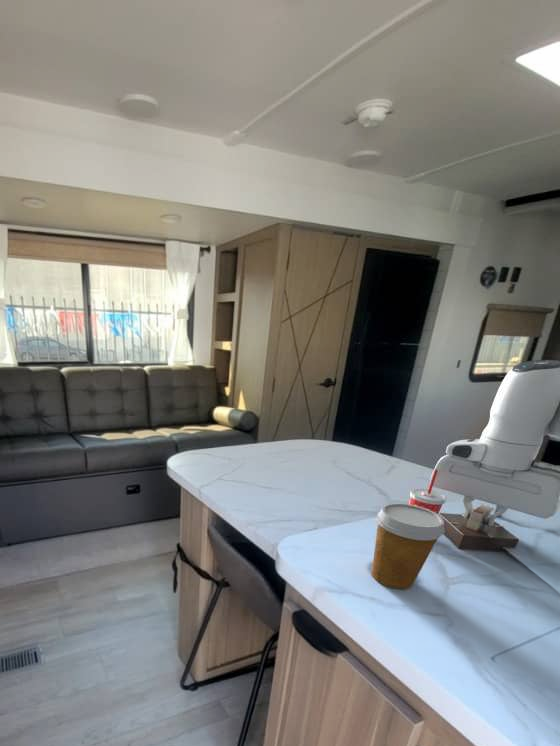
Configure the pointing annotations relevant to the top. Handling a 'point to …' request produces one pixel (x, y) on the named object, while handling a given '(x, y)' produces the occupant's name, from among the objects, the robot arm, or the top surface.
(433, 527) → the disposable coffee cup
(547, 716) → the top surface
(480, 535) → the brown square box
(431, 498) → the beverage cup
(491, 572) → the top surface
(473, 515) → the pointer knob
